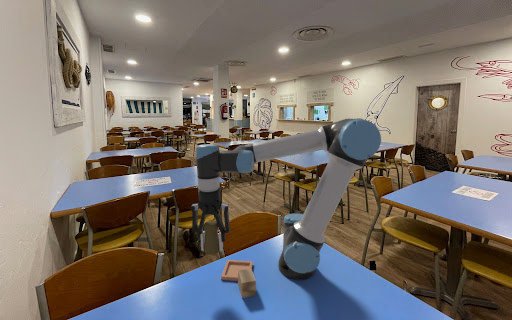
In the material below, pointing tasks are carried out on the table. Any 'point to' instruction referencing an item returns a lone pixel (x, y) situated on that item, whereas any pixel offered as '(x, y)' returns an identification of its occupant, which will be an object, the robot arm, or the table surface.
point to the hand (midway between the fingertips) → (212, 249)
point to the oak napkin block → (246, 283)
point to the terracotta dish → (235, 269)
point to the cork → (211, 238)
